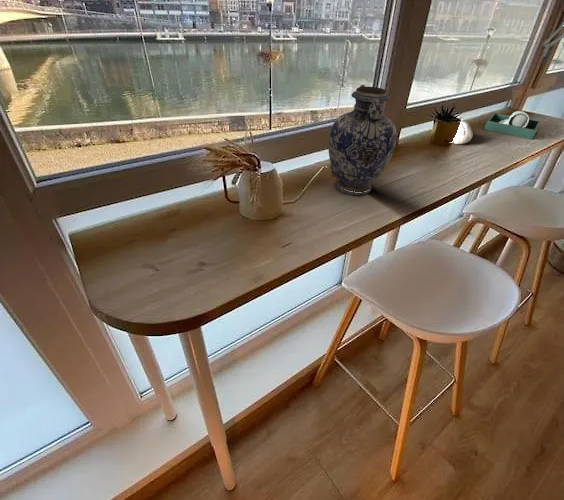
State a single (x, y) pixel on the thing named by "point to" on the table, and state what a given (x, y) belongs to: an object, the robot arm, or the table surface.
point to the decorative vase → (361, 142)
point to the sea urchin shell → (463, 133)
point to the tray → (509, 129)
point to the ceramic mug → (517, 119)
